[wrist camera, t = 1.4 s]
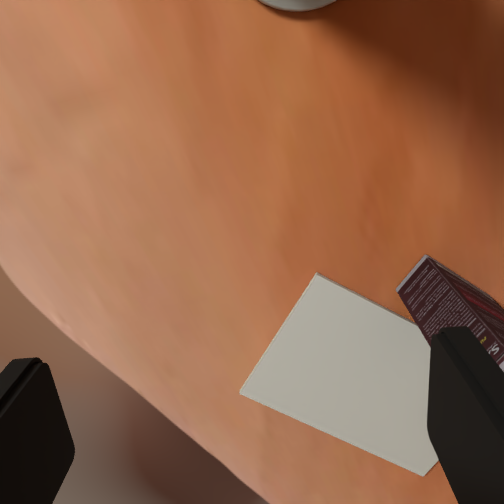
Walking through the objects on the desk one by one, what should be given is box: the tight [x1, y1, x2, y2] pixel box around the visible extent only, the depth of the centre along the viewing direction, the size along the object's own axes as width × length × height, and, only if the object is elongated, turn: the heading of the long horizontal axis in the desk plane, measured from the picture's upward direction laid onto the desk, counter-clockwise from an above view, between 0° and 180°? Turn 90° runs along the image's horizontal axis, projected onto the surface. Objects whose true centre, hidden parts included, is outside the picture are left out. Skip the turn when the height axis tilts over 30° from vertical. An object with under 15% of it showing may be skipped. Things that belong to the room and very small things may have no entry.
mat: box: [240, 272, 439, 476], centre depth 48 cm, size 16×24×1 cm, turn 62°
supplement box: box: [396, 255, 504, 372], centre depth 37 cm, size 9×5×16 cm, turn 58°
